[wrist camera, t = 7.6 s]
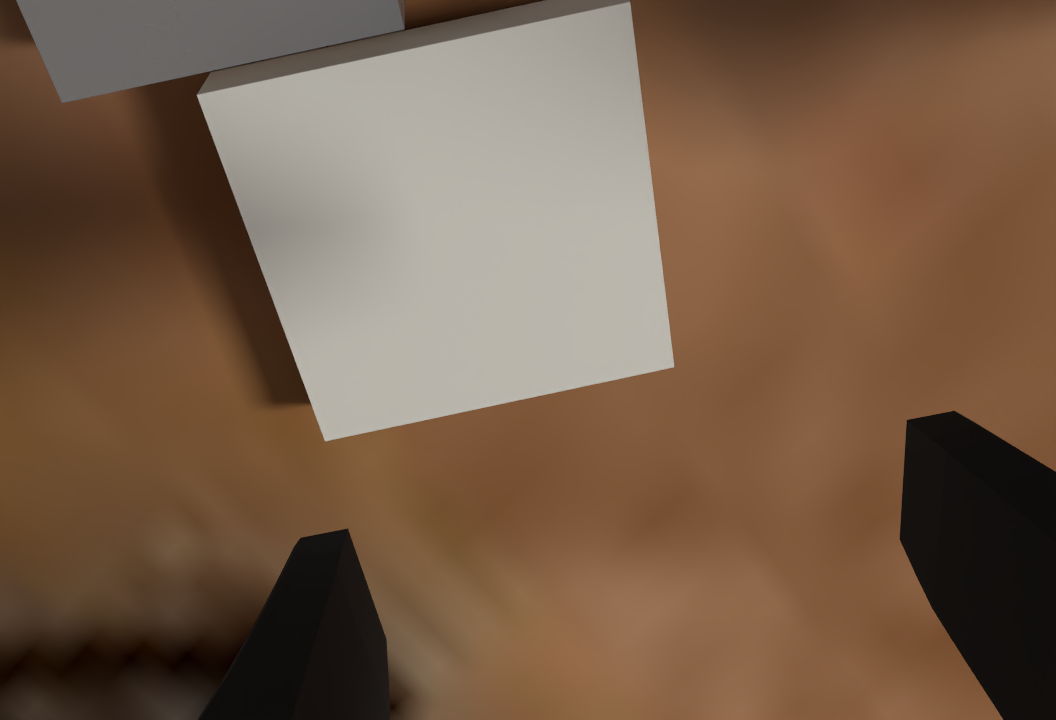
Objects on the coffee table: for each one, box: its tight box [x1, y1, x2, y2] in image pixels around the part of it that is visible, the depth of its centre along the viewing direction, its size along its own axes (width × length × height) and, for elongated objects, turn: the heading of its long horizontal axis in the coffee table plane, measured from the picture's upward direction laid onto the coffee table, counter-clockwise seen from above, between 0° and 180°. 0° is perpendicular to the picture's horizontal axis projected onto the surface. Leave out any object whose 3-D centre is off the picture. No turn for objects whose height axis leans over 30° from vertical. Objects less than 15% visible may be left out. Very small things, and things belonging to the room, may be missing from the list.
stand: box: [197, 0, 674, 441], centre depth 20 cm, size 8×8×2 cm
